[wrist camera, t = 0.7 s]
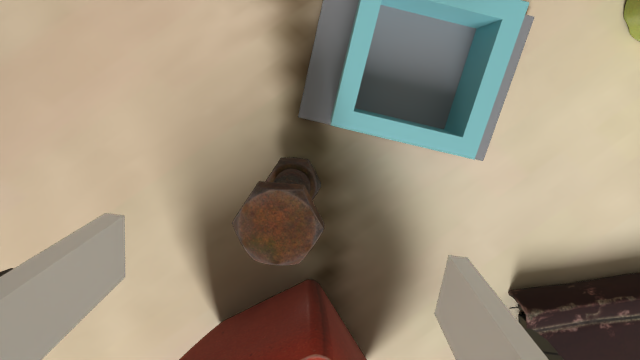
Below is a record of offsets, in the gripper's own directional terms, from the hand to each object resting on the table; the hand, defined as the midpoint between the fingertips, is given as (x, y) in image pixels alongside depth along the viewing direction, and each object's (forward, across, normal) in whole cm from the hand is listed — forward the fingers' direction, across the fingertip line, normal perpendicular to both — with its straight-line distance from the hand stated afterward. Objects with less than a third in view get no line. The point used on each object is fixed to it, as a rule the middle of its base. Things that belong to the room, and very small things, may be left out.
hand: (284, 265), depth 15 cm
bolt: (+23, -1, -2) cm, 23 cm away
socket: (+23, +8, +9) cm, 26 cm away
